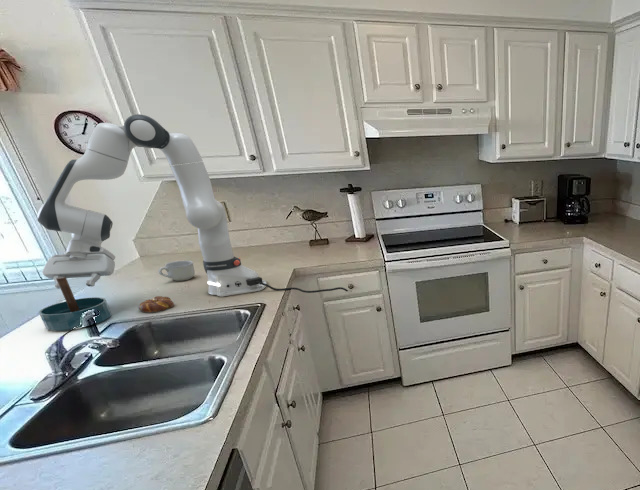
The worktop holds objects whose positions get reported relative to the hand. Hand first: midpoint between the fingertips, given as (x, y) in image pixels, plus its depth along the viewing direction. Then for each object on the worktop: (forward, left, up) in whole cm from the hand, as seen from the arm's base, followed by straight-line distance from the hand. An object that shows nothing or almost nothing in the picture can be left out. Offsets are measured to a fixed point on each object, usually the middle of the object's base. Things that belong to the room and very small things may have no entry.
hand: (74, 286), depth 147 cm
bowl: (+1, +3, -12) cm, 13 cm away
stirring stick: (+1, +4, -12) cm, 12 cm away
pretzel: (-20, -4, -13) cm, 24 cm away
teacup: (-16, -44, -13) cm, 48 cm away
